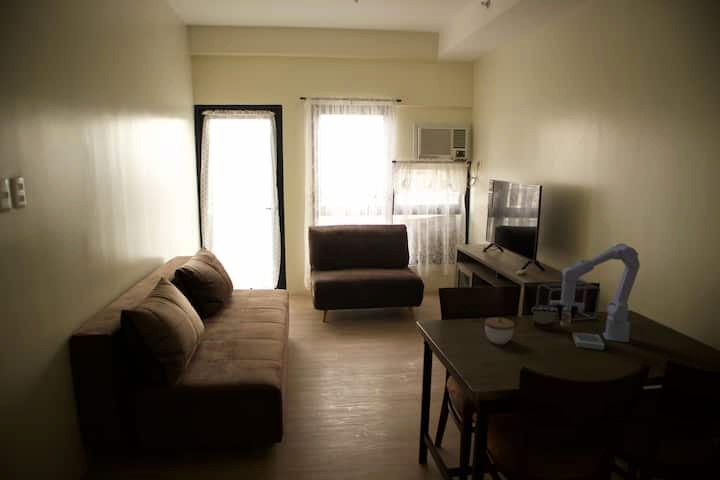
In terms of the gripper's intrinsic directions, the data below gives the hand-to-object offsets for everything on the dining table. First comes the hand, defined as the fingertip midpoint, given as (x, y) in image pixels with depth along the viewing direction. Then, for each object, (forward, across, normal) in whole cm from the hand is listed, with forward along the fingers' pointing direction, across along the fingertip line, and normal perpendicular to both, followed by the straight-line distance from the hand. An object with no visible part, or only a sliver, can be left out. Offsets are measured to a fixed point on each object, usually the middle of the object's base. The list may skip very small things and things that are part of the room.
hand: (565, 321), depth 225 cm
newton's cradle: (+7, +4, +25) cm, 27 cm away
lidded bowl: (+7, -30, -18) cm, 36 cm away
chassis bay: (+7, +9, -8) cm, 14 cm away
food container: (+7, -9, +9) cm, 15 cm away
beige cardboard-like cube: (+2, 0, 0) cm, 2 cm away
